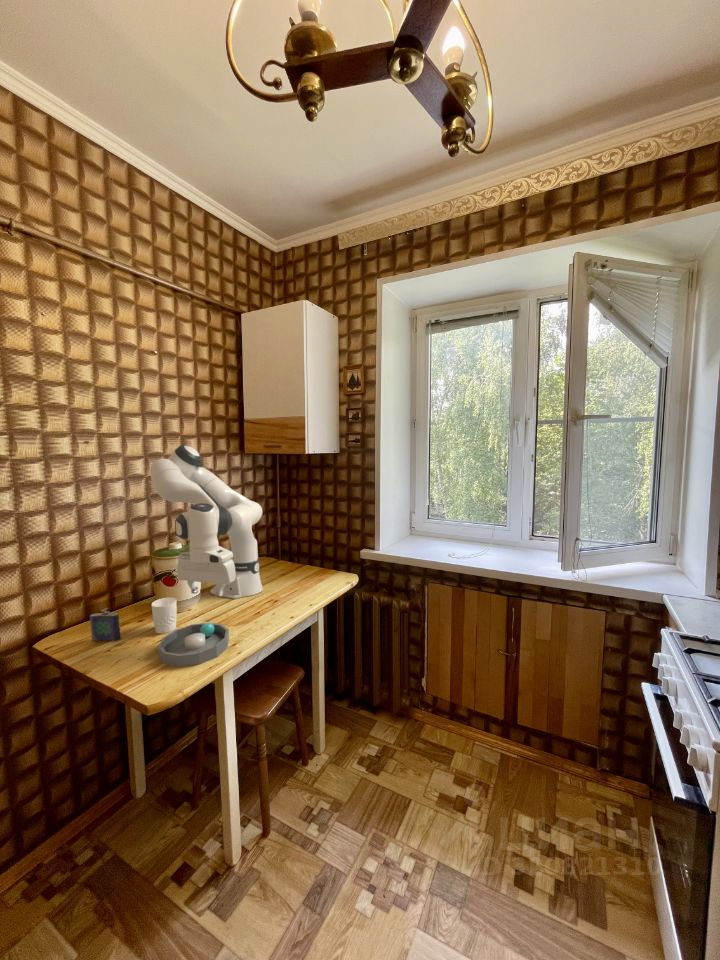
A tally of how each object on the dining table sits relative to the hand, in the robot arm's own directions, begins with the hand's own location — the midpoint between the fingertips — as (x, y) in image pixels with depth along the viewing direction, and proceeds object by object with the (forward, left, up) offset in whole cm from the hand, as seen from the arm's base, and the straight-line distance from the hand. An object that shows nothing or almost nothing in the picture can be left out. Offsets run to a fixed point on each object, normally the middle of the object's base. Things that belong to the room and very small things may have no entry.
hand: (207, 594), depth 126 cm
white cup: (-19, +2, -16) cm, 25 cm away
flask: (-33, -9, -16) cm, 38 cm away
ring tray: (0, -6, -15) cm, 17 cm away
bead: (0, 0, -12) cm, 12 cm away
